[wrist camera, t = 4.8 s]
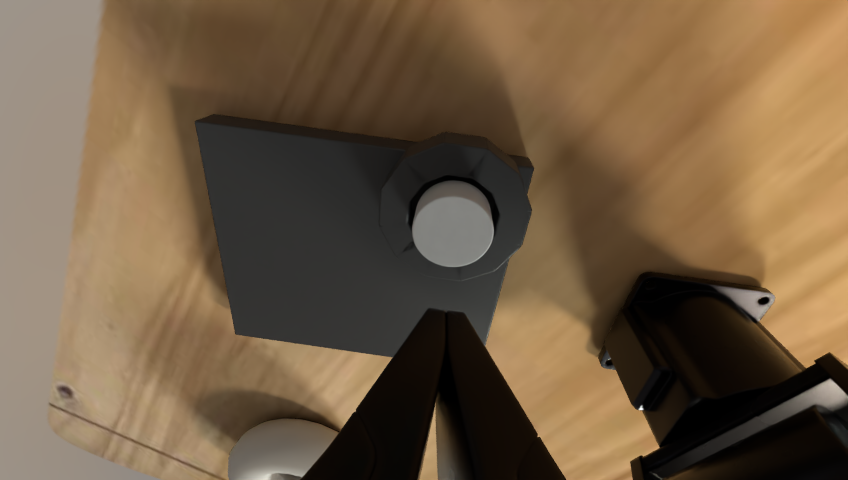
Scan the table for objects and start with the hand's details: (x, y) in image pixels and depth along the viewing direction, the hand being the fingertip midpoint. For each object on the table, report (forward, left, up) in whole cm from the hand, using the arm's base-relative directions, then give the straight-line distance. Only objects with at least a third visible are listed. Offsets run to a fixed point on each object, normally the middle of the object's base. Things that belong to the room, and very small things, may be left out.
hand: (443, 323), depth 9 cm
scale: (+4, +5, -10) cm, 11 cm away
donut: (+8, +24, -10) cm, 27 cm away
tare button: (0, +1, -7) cm, 7 cm away
